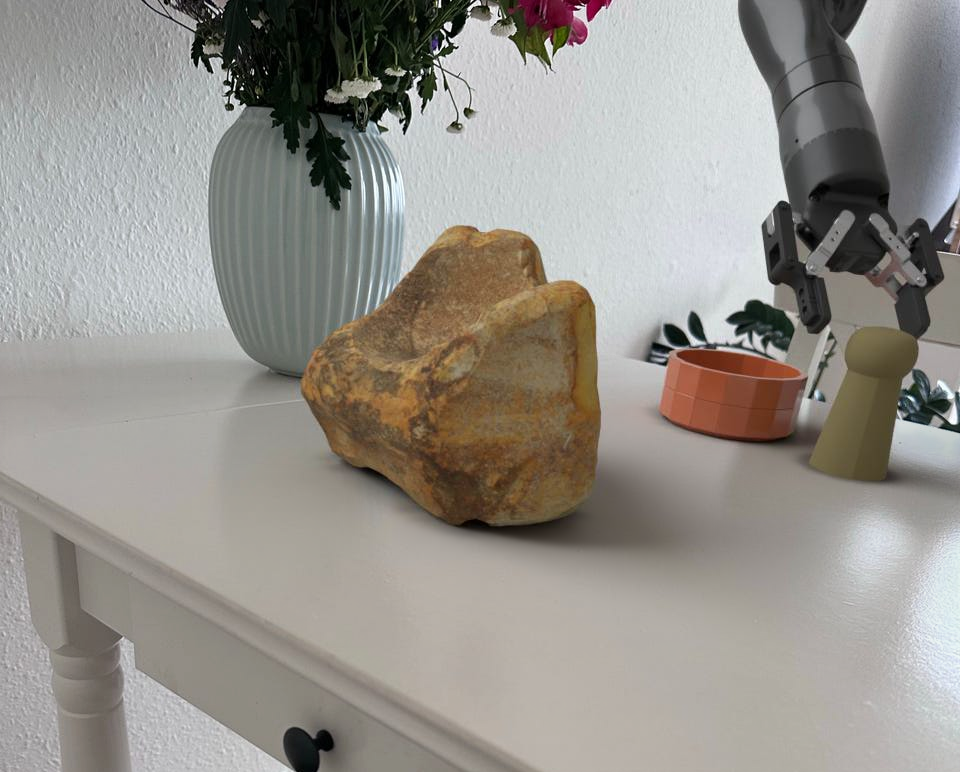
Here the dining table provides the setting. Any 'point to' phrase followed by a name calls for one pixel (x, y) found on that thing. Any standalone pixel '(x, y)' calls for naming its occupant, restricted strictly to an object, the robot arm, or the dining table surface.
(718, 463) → the dining table surface
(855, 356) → the cork
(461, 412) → the rough brown rock
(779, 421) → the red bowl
